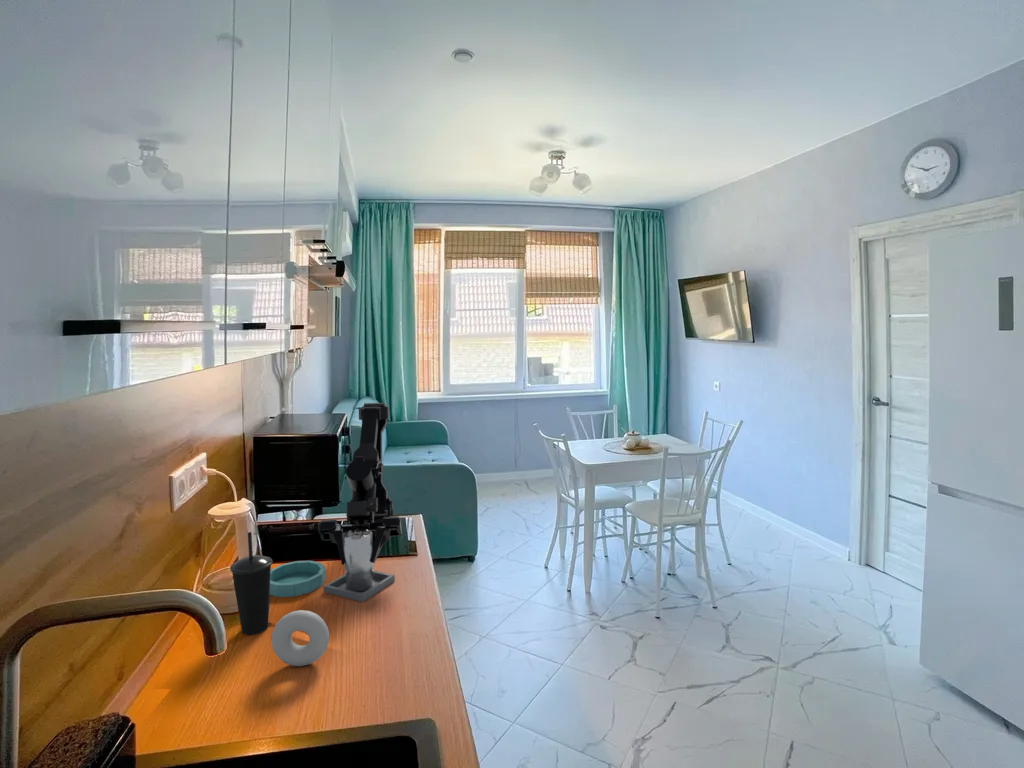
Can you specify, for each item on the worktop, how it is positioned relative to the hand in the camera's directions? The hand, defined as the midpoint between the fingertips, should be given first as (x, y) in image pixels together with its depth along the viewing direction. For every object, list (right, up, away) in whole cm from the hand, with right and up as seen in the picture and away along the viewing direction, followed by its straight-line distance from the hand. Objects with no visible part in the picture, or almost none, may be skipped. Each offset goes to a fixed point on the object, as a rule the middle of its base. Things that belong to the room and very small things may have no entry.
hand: (358, 563), depth 125 cm
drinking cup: (-17, -9, -14) cm, 24 cm away
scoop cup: (0, -6, +2) cm, 6 cm away
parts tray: (0, -7, +2) cm, 7 cm away
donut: (-3, -10, -27) cm, 28 cm away
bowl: (-16, -7, +4) cm, 18 cm away
